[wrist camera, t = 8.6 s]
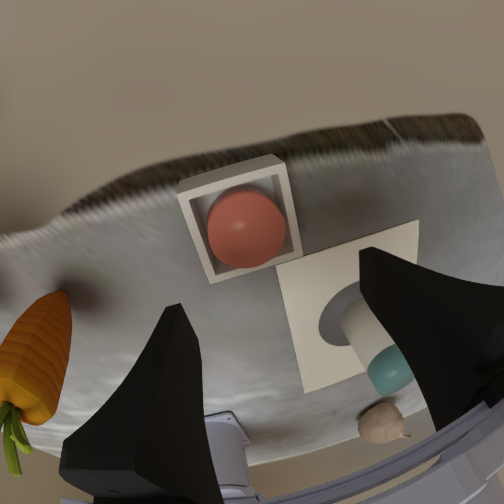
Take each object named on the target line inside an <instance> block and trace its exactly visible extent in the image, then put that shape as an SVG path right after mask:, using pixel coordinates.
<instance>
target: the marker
mask: <svg viewBox="0 0 504 504" xmlns="http://www.w3.org/2000/svg"><path fill="white" fill-rule="evenodd" d="M339 325H340V327H341V329H342V331H343V332H344V334H345V336H346V338H347V339H348V341H349V343H350V344H351V346H352V348H353V349H354V351H355V353H356V355H357V356H358V358H359V360H360V362H361V363H362V365H363V367H364V369H365V370H366V372H367V374H368V376H369V377H370V379H371V381H372V383H373V384H374V386H375V388H376V390H377V392H378V393H379V394H381V395H388V394H391V393H394V392H396V391H398V390H400V389H402V388H403V387H405V386H406V385H407V384H409V383H410V382H411V381H412V380H413V379H414V378H415V377H414V375H413V372H412V371H411V369H410V367H409V365H408V363H407V361H406V359H405V358H404V356H403V354H402V352H401V351H400V349H399V348H398V346H397V345H396V344H395V342H394V341H393V339H392V338H391V337H390V335H389V334H388V333H387V331H386V330H385V329H384V327H383V326H382V325H381V323H380V322H379V321H378V319H377V318H376V317H375V315H374V314H373V313H372V311H371V310H370V308H369V306H368V305H367V303H366V301H365V299H364V298H361V299H358V300H356V301H354V302H352V303H351V304H349V305H348V306H347V307H346V308H345V309H344V311H343V312H342V314H341V316H340V318H339Z"/></svg>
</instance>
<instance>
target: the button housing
mask: <svg viewBox="0 0 504 504" xmlns="http://www.w3.org/2000/svg"><path fill="white" fill-rule="evenodd" d="M242 186H244V187H252V188H256V189H258V190H260V191H262V192H264V193H265V194H266V195H267V196H268V197H269V198H270V199H271V200H272V202H273V203H274V204H275V206H276V207H277V208H278V210H279V211H280V213H281V214H282V216H283V218H284V221H285V226H286V234H285V239H284V242H283V245H282V247H281V248H280V250H279V251H278V253H277V254H276V255H275V256H274V257H273V258H272V259H271V260H269V261H268V262H266V263H264V264H262V265H260V266H257V267H253V268H244V269H242V268H235V267H232V266H229V265H227V264H225V263H223V262H222V261H220V260H219V259H218V258H217V257H216V256H215V254H214V253H213V251H212V249H211V247H210V244H209V239H208V230H207V215H208V211H209V209H210V206H211V205H212V203H213V202H214V200H215V199H216V198H217V197H218V196H219V195H220V194H222V193H223V192H225V191H227V190H229V189H232V188H235V187H242ZM177 197H178V200H179V203H180V206H181V209H182V211H183V214H184V217H185V220H186V222H187V225H188V228H189V231H190V233H191V236H192V239H193V241H194V244H195V247H196V249H197V252H198V254H199V257H200V260H201V262H202V265H203V267H204V270H205V273H206V275H207V278H208V280H209V283H210V284H214V283H217V282H220V281H224V280H227V279H230V278H234V277H237V276H240V275H243V274H247V273H250V272H253V271H257V270H260V269H263V268H266V267H270V266H273V265H276V264H279V263H282V262H286V261H289V260H292V259H295V258H298V257H302V256H303V251H302V246H301V240H300V235H299V230H298V224H297V219H296V214H295V209H294V204H293V199H292V194H291V189H290V184H289V179H288V175H287V170H286V165H285V162H283V161H282V160H280V159H279V158H277V157H276V156H275V155H273V154H268V155H265V156H261V157H257V158H253V159H250V160H246V161H242V162H239V163H235V164H232V165H228V166H225V167H221V168H218V169H215V170H212V171H208V172H205V173H202V174H199V175H195V176H192V177H189V178H186V179H183V180H180V181H179V185H178V190H177Z"/></svg>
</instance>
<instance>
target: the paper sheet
mask: <svg viewBox="0 0 504 504" xmlns="http://www.w3.org/2000/svg"><path fill="white" fill-rule="evenodd" d="M418 236H419V219H416V220H413V221H411V222H408V223H405V224H402V225H399V226H396V227H393V228H390V229H387V230H384V231H381V232H377V233H374V234H371V235H368V236H365V237H362V238H359V239H356V240H353V241H350V242H347V243H344V244H341V245H337V246H334V247H331V248H328V249H325V250H322V251H319V252H316V253H312V254H309V255H306V256H303V257H300V258H297V259H293V260H290V261H287V262H284V263H280V264H277V265H275V267H276V271H277V275H278V279H279V283H280V288H281V292H282V296H283V300H284V305H285V309H286V313H287V318H288V322H289V326H290V331H291V335H292V340H293V344H294V348H295V353H296V357H297V362H298V366H299V371H300V375H301V380H302V384H303V389H304V394H306V393H309V392H312V391H315V390H318V389H321V388H323V387H326V386H329V385H332V384H334V383H337V382H340V381H342V380H345V379H347V378H350V377H352V376H355V375H357V374H360V373H362V372H364V371H366V370H365V369H364V367H363V365H362V363H361V362H360V360H359V358H358V356H357V355H356V353H355V351H354V349H353V348H352V346H351V344H350V343H349V341H348V339H347V338H346V336H345V334H344V332H343V331H342V329H341V327H340V325H339V318H340V316H341V314H342V312H343V311H344V309H345V308H346V307H347V306H348V305H349V304H351V303H352V302H354V301H356V300H358V299H361V298H363V296H362V294H361V292H360V281H359V250H362V249H365V248H368V247H371V246H372V247H375V248H378V249H381V250H383V251H386V252H388V253H390V254H393V255H395V256H397V257H400V258H402V259H404V260H407V261H409V262H411V263H414V264H416V265H417V253H418Z"/></svg>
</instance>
